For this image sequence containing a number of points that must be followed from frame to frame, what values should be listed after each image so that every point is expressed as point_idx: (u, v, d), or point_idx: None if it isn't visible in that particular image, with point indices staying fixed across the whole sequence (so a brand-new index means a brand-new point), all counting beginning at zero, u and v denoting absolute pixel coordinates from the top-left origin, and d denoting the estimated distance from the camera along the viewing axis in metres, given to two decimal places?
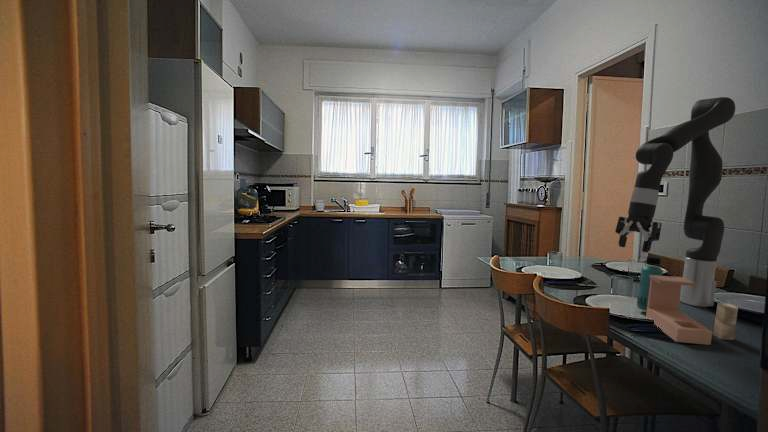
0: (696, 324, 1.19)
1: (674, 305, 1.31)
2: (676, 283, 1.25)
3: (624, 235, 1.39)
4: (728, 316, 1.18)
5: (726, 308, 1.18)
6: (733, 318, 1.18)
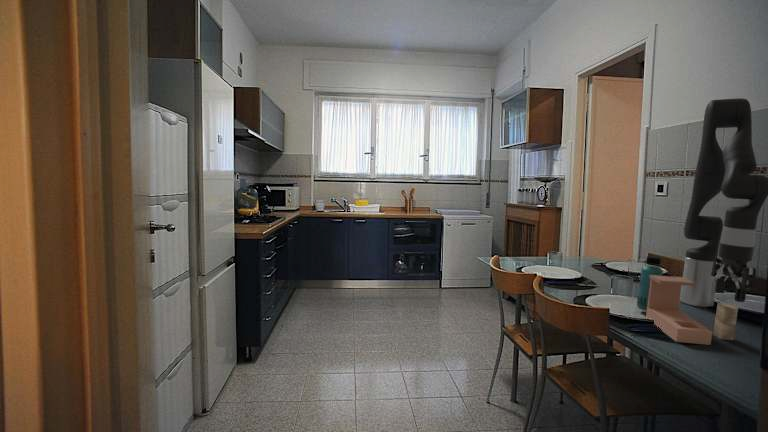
0: (696, 324, 1.19)
1: (674, 305, 1.31)
2: (676, 283, 1.25)
3: (720, 279, 1.22)
4: (728, 316, 1.18)
5: (726, 308, 1.18)
6: (733, 318, 1.18)
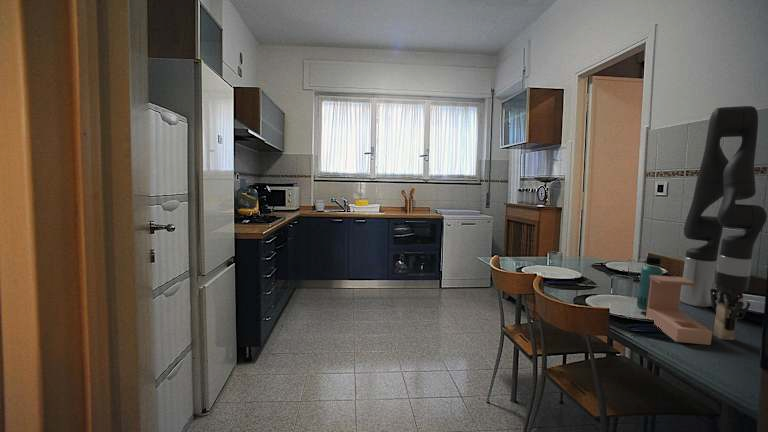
0: (696, 324, 1.19)
1: (674, 305, 1.31)
2: (676, 283, 1.25)
3: None
4: None
5: None
6: None
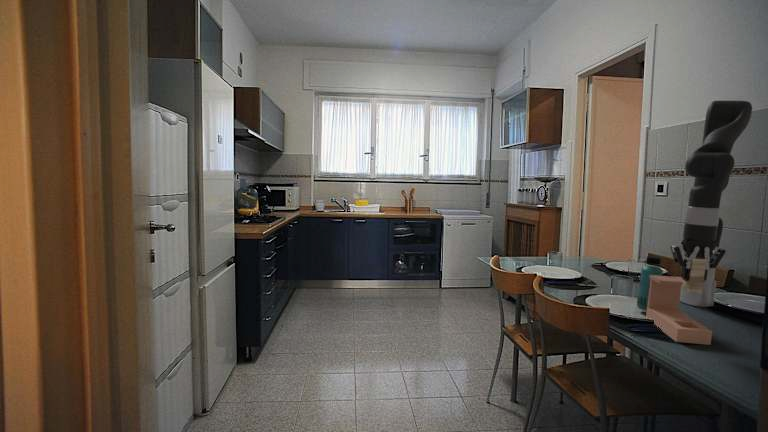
0: (696, 324, 1.19)
1: (674, 305, 1.31)
2: (676, 283, 1.25)
3: None
4: None
5: None
6: None
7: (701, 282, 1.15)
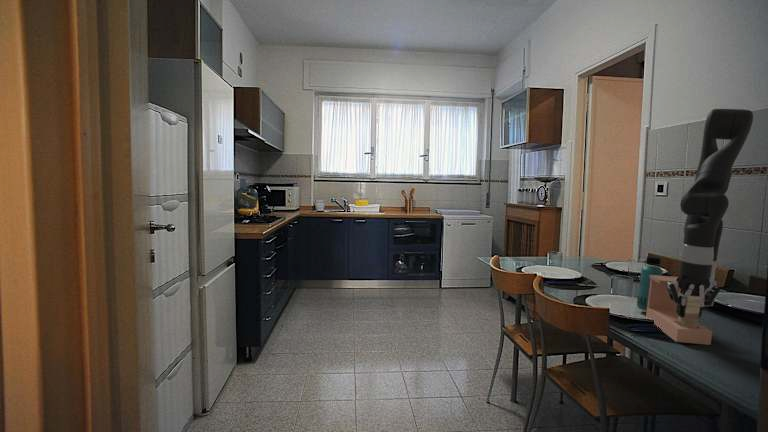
0: None
1: (674, 305, 1.31)
2: None
3: None
4: None
5: None
6: None
7: (696, 319, 1.16)
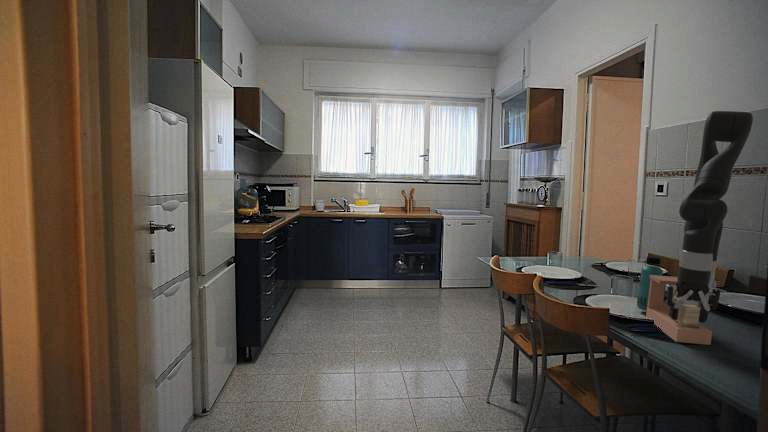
0: None
1: None
2: (676, 283, 1.25)
3: (702, 308, 1.18)
4: (681, 313, 1.19)
5: (681, 304, 1.19)
6: (684, 316, 1.18)
7: None
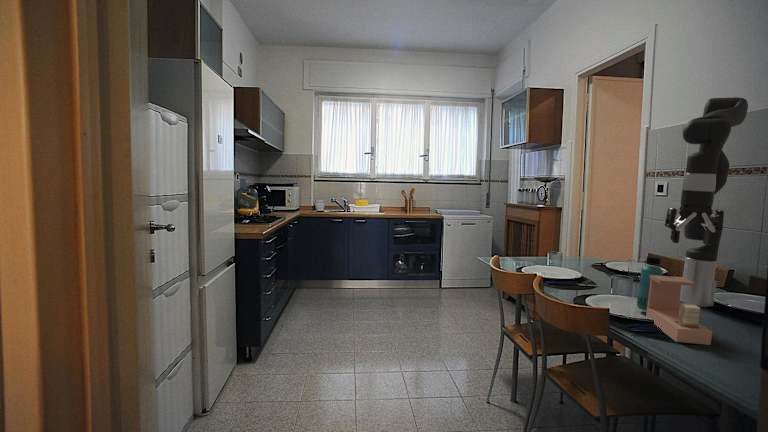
0: None
1: (674, 305, 1.31)
2: (676, 283, 1.25)
3: (707, 230, 1.18)
4: (681, 313, 1.19)
5: (681, 304, 1.19)
6: (684, 316, 1.18)
7: None
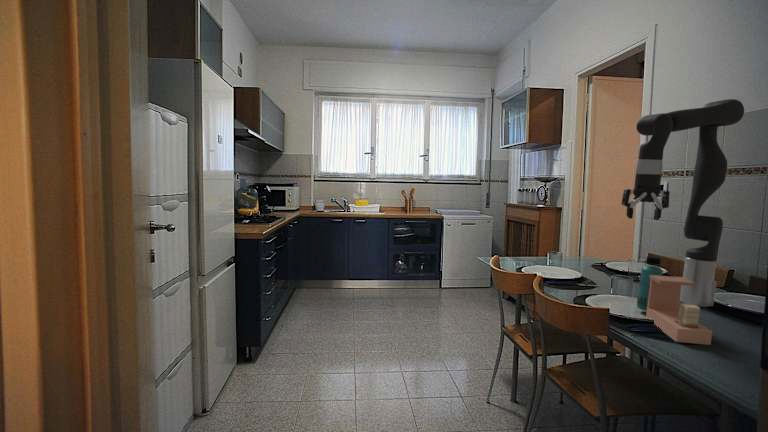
0: None
1: (674, 305, 1.31)
2: (676, 283, 1.25)
3: (656, 208, 1.40)
4: (681, 313, 1.19)
5: (680, 304, 1.19)
6: (684, 316, 1.18)
7: None
